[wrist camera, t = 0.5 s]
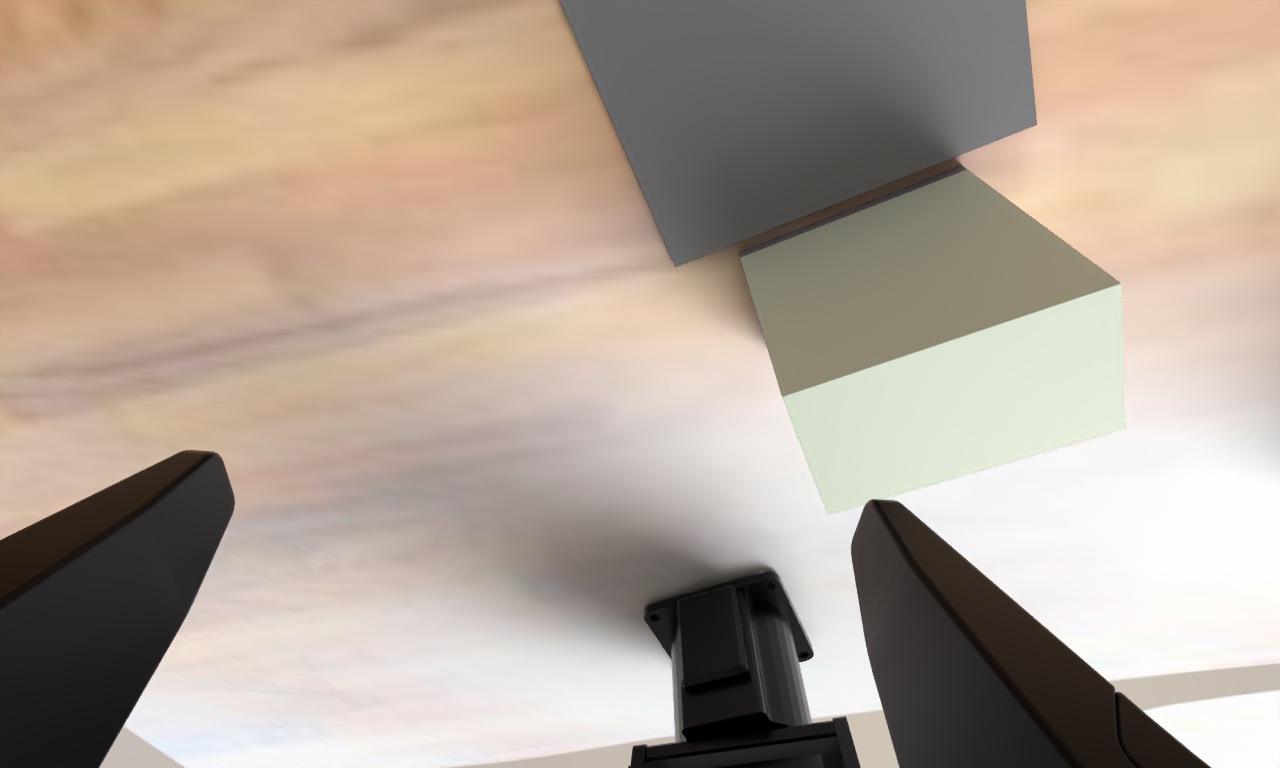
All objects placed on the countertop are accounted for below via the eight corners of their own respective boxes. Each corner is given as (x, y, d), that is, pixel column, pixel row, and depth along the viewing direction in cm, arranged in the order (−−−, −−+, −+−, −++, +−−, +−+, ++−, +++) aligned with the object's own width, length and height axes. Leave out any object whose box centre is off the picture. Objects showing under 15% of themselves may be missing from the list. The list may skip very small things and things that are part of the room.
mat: (1032, 122, 19) (1036, 124, 19) (675, 263, 22) (675, 267, 21) (990, -300, 14) (996, -304, 14) (536, -57, 17) (534, -57, 17)
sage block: (979, 278, 22) (1125, 428, 15) (774, 350, 24) (827, 515, 17) (962, 165, 20) (1121, 283, 13) (738, 252, 22) (782, 397, 15)
